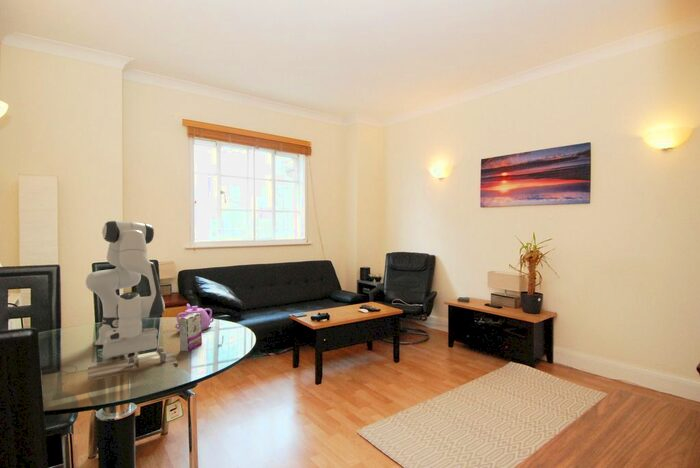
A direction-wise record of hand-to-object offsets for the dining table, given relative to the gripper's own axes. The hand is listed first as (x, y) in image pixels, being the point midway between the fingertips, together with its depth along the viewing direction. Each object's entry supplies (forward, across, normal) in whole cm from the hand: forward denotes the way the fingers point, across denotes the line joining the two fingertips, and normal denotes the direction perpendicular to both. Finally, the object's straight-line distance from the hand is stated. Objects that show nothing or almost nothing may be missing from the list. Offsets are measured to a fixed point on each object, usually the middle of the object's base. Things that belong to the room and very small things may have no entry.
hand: (131, 362), depth 156 cm
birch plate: (+1, -6, 0) cm, 7 cm away
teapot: (+3, -36, -49) cm, 61 cm away
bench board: (+3, -1, 0) cm, 3 cm away
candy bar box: (+3, -27, -13) cm, 30 cm away
